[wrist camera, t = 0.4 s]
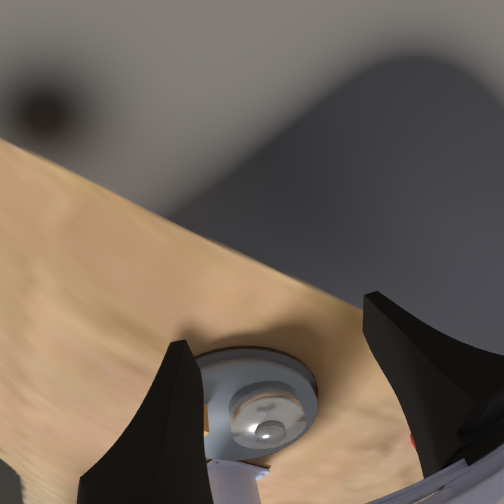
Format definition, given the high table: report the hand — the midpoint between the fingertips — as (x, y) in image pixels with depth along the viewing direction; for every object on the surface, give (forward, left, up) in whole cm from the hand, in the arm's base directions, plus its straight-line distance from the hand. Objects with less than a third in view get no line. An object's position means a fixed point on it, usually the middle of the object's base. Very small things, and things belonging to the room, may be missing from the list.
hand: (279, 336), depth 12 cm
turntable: (-13, -10, -10) cm, 19 cm away
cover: (-10, -10, -8) cm, 16 cm away
